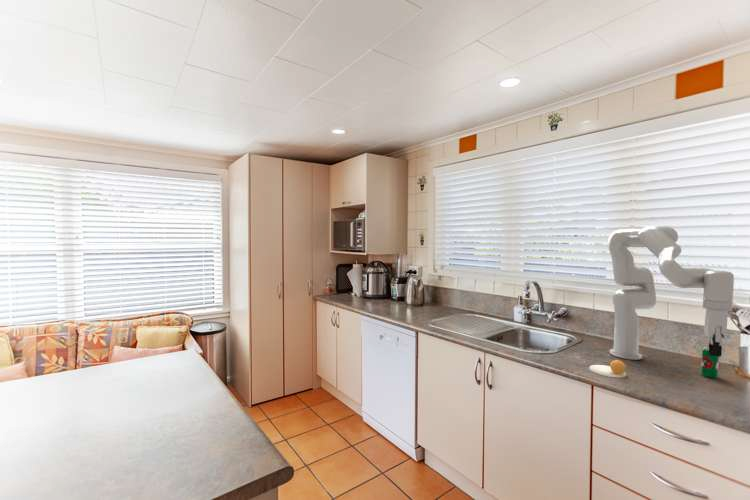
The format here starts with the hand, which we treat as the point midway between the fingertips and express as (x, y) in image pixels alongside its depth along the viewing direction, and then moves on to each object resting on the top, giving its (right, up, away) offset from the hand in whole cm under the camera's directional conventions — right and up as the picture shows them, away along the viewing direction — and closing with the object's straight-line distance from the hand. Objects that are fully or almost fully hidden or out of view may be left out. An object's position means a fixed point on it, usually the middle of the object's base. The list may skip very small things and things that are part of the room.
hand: (714, 355), depth 125 cm
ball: (-22, -10, +18) cm, 31 cm away
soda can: (+13, -14, +16) cm, 25 cm away
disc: (-25, -13, +21) cm, 35 cm away
